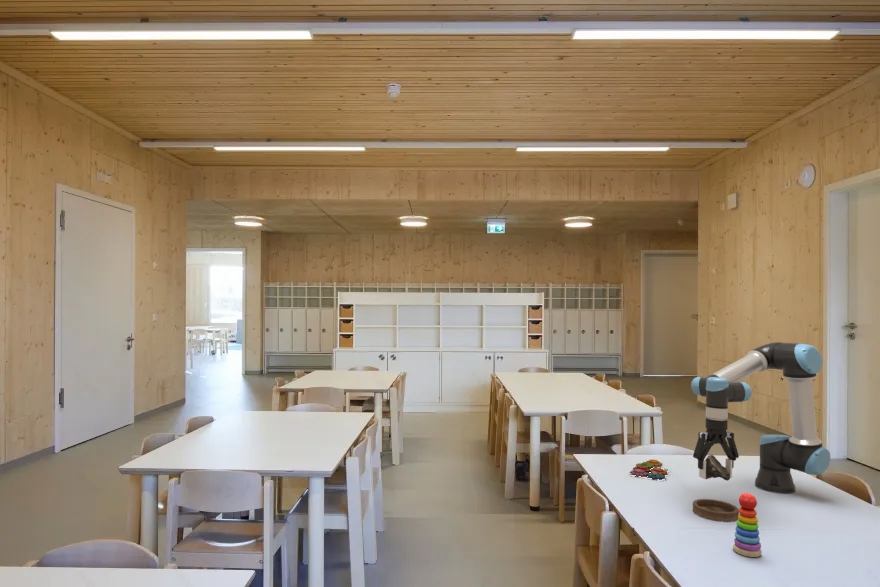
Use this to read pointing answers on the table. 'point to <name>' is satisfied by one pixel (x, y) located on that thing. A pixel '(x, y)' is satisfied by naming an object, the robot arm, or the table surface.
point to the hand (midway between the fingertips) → (715, 477)
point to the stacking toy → (747, 528)
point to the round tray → (715, 510)
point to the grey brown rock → (715, 469)
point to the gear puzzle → (645, 468)
